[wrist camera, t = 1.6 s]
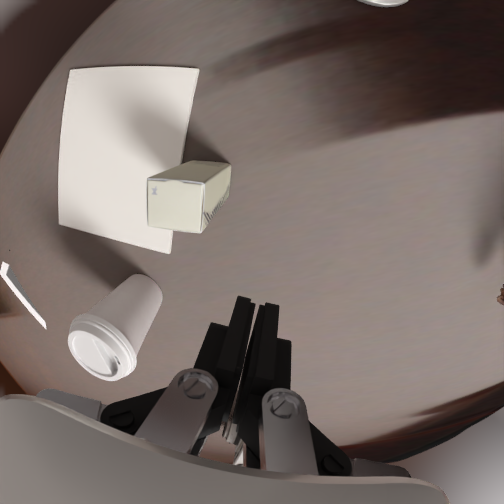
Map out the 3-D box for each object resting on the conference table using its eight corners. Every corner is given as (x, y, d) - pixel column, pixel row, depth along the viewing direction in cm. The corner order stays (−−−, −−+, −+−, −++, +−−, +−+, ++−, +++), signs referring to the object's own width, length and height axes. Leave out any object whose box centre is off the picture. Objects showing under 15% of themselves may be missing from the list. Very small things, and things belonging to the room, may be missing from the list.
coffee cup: (169, 325, 44) (131, 395, 31) (117, 307, 44) (69, 367, 31) (175, 275, 40) (127, 343, 27) (117, 257, 40) (56, 312, 27)
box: (189, 193, 35) (142, 228, 24) (191, 158, 34) (142, 177, 22) (231, 198, 35) (201, 236, 23) (234, 162, 33) (204, 182, 22)
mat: (72, 70, 29) (70, 69, 29) (199, 69, 29) (198, 68, 28) (61, 222, 39) (59, 224, 39) (170, 252, 39) (169, 254, 38)
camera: (235, 394, 50) (225, 437, 40) (277, 403, 49) (273, 447, 40) (222, 428, 55) (213, 465, 46) (258, 436, 55) (253, 473, 46)
